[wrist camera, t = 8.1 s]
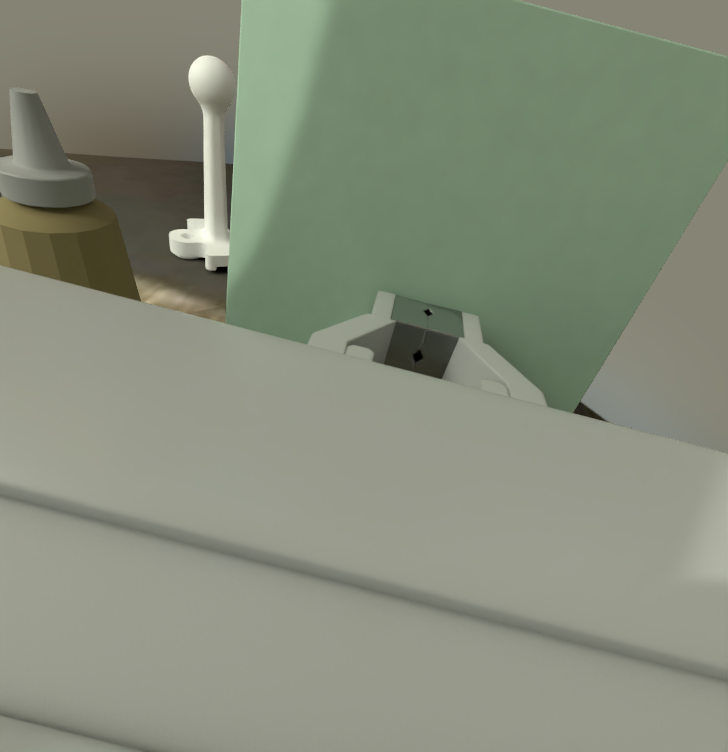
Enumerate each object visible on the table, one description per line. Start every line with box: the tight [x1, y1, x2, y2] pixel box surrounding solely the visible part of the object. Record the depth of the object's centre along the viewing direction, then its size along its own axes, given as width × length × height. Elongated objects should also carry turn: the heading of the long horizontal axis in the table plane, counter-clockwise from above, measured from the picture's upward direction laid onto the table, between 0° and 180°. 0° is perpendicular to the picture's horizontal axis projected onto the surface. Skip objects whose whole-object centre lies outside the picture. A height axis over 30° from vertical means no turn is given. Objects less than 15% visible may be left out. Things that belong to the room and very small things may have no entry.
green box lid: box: [226, 0, 728, 413], centre depth 13 cm, size 15×12×1 cm
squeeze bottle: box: [0, 88, 141, 302], centre depth 26 cm, size 8×8×18 cm
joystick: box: [169, 56, 236, 270], centre depth 44 cm, size 11×8×20 cm
